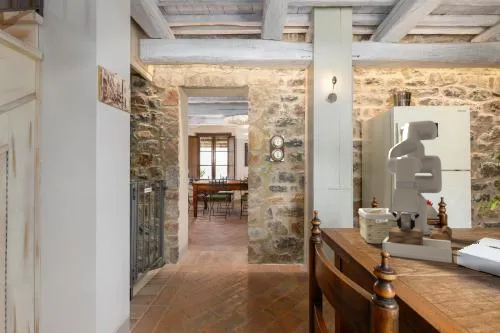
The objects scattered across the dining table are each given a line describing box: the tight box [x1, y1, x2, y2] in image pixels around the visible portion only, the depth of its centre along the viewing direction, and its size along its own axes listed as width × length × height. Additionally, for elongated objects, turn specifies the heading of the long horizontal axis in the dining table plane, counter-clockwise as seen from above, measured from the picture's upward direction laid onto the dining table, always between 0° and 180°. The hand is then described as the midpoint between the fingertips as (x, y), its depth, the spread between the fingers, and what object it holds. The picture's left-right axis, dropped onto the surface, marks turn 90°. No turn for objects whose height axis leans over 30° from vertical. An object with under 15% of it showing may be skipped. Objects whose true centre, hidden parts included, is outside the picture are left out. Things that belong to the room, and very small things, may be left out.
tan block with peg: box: [388, 212, 424, 246], centre depth 135 cm, size 12×12×15 cm
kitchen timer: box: [426, 199, 439, 217], centre depth 206 cm, size 14×14×15 cm
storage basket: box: [357, 207, 399, 245], centre depth 161 cm, size 24×16×15 cm
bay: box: [381, 236, 453, 264], centre depth 133 cm, size 25×17×5 cm
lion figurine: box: [428, 225, 453, 241], centre depth 144 cm, size 15×5×9 cm, turn 117°
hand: (406, 228), depth 135 cm, fingers closed on tan block with peg, 4 cm apart
